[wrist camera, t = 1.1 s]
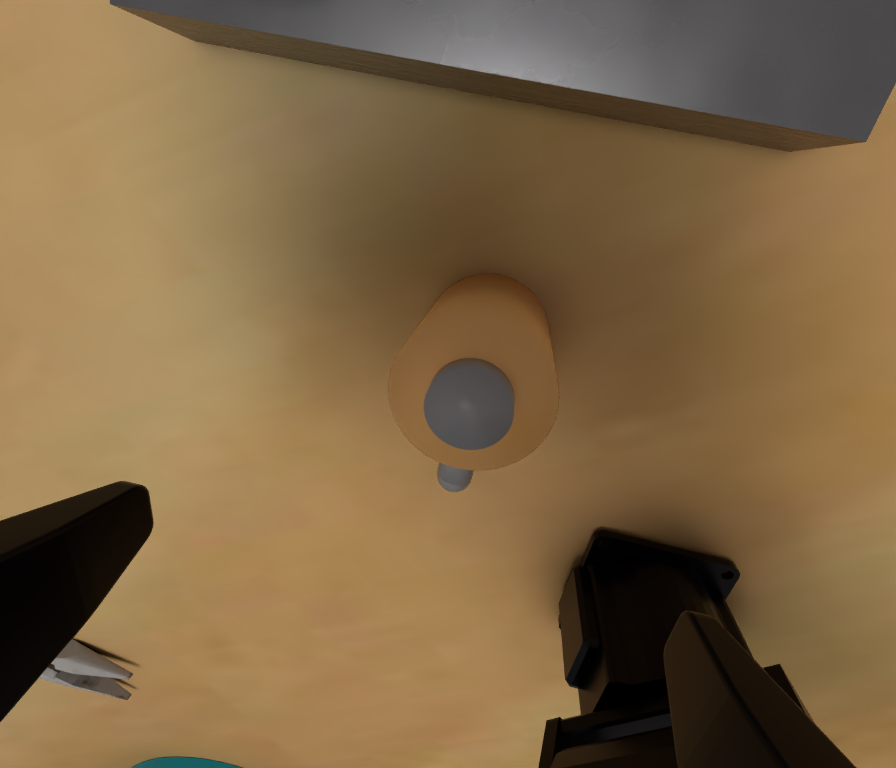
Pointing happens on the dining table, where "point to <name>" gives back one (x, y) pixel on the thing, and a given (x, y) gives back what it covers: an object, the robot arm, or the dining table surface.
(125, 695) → the pliers
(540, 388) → the cylinder
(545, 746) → the robot arm
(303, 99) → the dining table surface
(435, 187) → the dining table surface
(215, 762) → the pipe fitting
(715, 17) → the sink basin plate
